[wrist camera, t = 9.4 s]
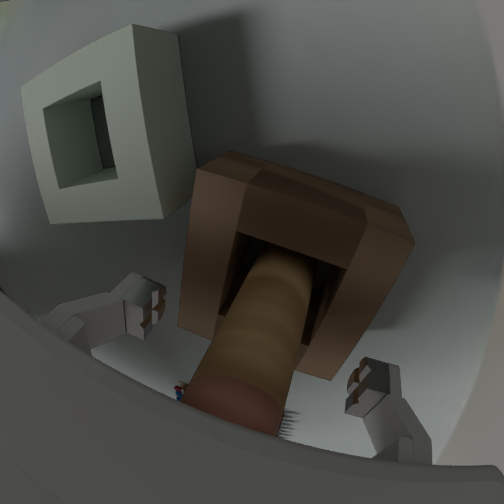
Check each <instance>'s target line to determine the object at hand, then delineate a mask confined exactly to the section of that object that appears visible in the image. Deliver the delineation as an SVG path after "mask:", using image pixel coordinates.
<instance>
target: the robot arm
mask: <svg viewBox="0 0 504 504" xmlns="http://www.w3.org/2000/svg"><path fill="white" fill-rule="evenodd" d="M165 294H166V287H165V286H164V285H162V284H160V283H158V282H156V281H153V280H151V279H149V278H147V277H145V276H142V275H140V274H138V273H135V272H132V273H130V274H129V275H128V276H127V277H126V278H125V279H123V280H122V281H121V282H120V283H119V284H118V285H117V286H116V287H115V288H114V289H113V290H112V291H111V292H110V293H108V292H104V293H100V294H96V295H92V296H88V297H84V298H81V299H77V300H73V301H69V302H65V303H62V304H58V305H57V306H56V307H55V308H54V309H52V310H51V311H50V312H49V313H48V314H47V315H46V316H45V317H44V318H43V319H42V320H41V321H38V320H37V319H36V318H34V317H33V316H32V315H30V314H29V313H28V312H26V311H25V310H24V309H22V308H21V307H20V306H19V305H17V304H16V303H15V302H14V301H12V300H11V299H10V298H9V297H7V296H6V295H5V294H4V293H3V292H1V291H0V504H504V475H503V474H502V472H501V471H500V470H499V469H498V468H497V467H496V466H494V465H478V466H452V465H451V466H450V465H432V443H431V439H430V437H429V435H428V434H427V432H426V431H425V429H424V427H423V426H422V424H421V423H420V421H419V420H418V418H417V416H416V415H415V413H414V412H413V410H412V409H411V407H410V406H409V404H408V403H407V401H406V400H405V398H402V392H401V379H400V368H399V366H398V365H394V364H391V363H386V362H383V361H379V360H375V359H372V358H368V357H364V358H363V359H362V360H361V361H360V367H359V368H357V369H354V371H353V372H352V374H351V376H350V378H349V380H348V384H347V392H348V394H349V397H348V398H347V399H346V403H345V413H346V414H349V415H353V416H357V417H361V418H363V421H364V423H365V426H366V428H367V431H368V433H369V435H370V438H371V440H372V443H373V445H374V448H375V450H376V452H377V455H375V456H374V457H372V458H366V457H360V456H354V455H349V454H344V453H339V452H334V451H329V450H325V449H320V448H316V447H312V446H308V445H304V444H300V443H296V442H292V441H289V440H285V439H282V438H278V437H275V436H271V435H268V434H265V433H262V432H259V431H255V430H252V429H249V428H246V427H243V426H241V425H238V424H235V423H232V422H229V421H226V420H224V419H221V418H218V417H216V416H213V415H211V414H208V413H206V412H203V411H201V410H198V409H196V408H194V407H191V406H189V405H187V404H184V403H182V402H180V401H177V400H175V399H173V398H171V397H169V396H167V395H164V394H162V393H160V392H158V391H156V390H154V389H152V388H150V387H148V386H146V385H144V384H142V383H140V382H138V381H136V380H134V379H132V378H130V377H128V376H126V375H125V374H123V373H121V372H119V371H117V370H115V369H114V368H112V367H110V366H108V365H107V364H105V363H103V362H101V361H100V360H98V359H96V358H95V357H93V356H92V354H91V350H90V349H92V348H94V347H97V346H99V345H101V344H103V343H106V342H108V341H110V340H112V339H115V338H117V337H119V336H121V335H124V334H126V333H129V334H131V335H133V336H135V337H137V338H139V339H142V340H145V339H146V337H147V336H148V335H149V333H150V332H151V331H152V324H155V323H158V321H159V320H160V319H161V317H162V315H163V313H164V309H165V300H164V298H163V297H164V295H165Z"/></svg>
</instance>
